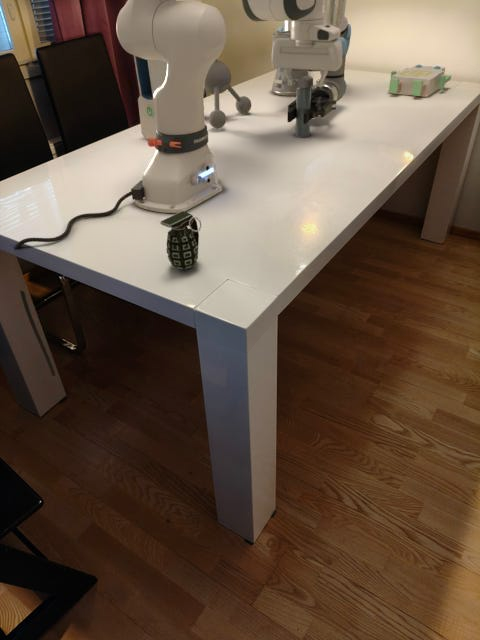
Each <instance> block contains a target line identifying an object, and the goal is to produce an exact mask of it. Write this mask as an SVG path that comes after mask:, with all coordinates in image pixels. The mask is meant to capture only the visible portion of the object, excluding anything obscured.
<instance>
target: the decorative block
mask: <svg viewBox="0 0 480 640" xmlns="http://www.w3.org/2000/svg"><path fill="white" fill-rule="evenodd" d="M445 72H446V67H445V66H440V65H435V66H433V65H422V64H415V65H414V66H412V67H406V68H404V69H402V70H399V71H396V70H392V71H391V72H390V80H389V86H388V87H389V89H388V94H395V95H404V96H413V97H424V98H428V97H430V96H432V95H433V94H434V93H435V92H436V91H438V90H444V88H445V84H447V83H448V82H450V81H451V80H452V75H451V74H445Z"/></svg>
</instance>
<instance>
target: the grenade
mask: <svg viewBox="0 0 480 640" xmlns="http://www.w3.org/2000/svg"><path fill="white" fill-rule="evenodd" d="M198 222H199V226H198ZM159 224H160V225H162V226H164V227H166V228H169V230H168V231H167V236H166V254H167V259H168V261H169V263H170V265H171V266H172V267H174V268H176V269H178V270H181V271H186V270H189V269H192V267H194V266H195V265H196V264H197V262H198V261H197V260H198V259H199V243H200V241H199V240H200V233H199V232H200V231H201V228H202V221H201V220H200V219H199V218H198V217H197V216H194V215H193V214H192V213H189V212H187V211H185V212H184V211H181V212H179V213H174V214H172V215H170V216H169V217H166V218H165V219H162V220H160V222H159ZM198 227H199V228H198Z"/></svg>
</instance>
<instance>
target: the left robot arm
mask: <svg viewBox="0 0 480 640" xmlns="http://www.w3.org/2000/svg"><path fill="white" fill-rule="evenodd" d="M323 3H324V0H241V4H242V7H243V11H244V13H245V14H246V16H247V17H248V18H249V20H251V21H253V22H268V21H270V22H271V21H273V22H284V21H291V31H281V30H279V31H277V30H276V32H274V33H273V34H272V36H271V46H272V49H271V61H270V62H271V66H272V67H273V68H274V69H277V68H284V73H285V75H286V77H287V79H288V85H289V86H293V85H294V84H295V82H294V81H295V78H292V76H291V73H290V71H291V69H306V70H320V71H319V72H320V73H319V74H320V75H322V76H320V78H319V79H317V80H315V88H317V87H319V88H321V87H323V80H324V78H325V77H326V75H327V73H328V71H336V70H338V69H339V68H340V67H341V66H342V43H341V41H340V40H339V39H338V37H339V36H340V34H341V30H340V29H339V28H337V27H335V26H332V25H330V24H327V23H325V22H324V13H323ZM115 26H116V27H115V28H116V35H117V38H118V41H119V44H120V45H121V47H122V49H123V50H124V51H125V52H126V53H128V54H130V55H132V56H133V57H134V56H137V57H140V58H143V59H146V60H156V61H166V63H167V74H166V79H165V81H164V82H163V83H162V84H160V85H159V86H158V87H157V89H156V90H155V92H154V95H153V101H154V108H155V114H156V121H157V128H158V129H157V130H156V138H152V137H150V138H149V139H147V146H149V147H151V148H152V147H154V148H155V151H154V153H153V155H152V157H151V159H150V162H149V163H148V165H147V167H146V169H145V172H144V173H143V176H142V179H141V180H140V181H138V182H137V183H136V184H135V185H133V187H132V188H131V189H130V191H129V192H127V193H125V194H124V195H122V196H121V197H119V198H118V200H117V201H116V203H115V205H114V206H113V208H112V209H110V210H106V211H104V212H103V211H102V212H93V213H92V212H90V213H82V214H78V215H76V216H74V217H73V218H71V219H70V220H69V221H68V223H67V226H66V229H65V230H64V232H62V233H61V234H60V235H58V236H54V237H26V238H23V239H21V240H20V241H18V242H17V243H16V245H15V246H14V248H13V250H15V251H16V250H19V249H21V247H22V246H23V245H25V244H28V243H34V242H38V243H54V242H58V241H61V240H62V239H65V238H66V237H67V236H68V235H69V234H70V231H71V229H72V226H73V224H74V223H75V222H76V221H78V220H81V219H85V218H101V217H107V216H110V215H112V214H114V213H115V212H116V211H117V210H118V209H119V207H120V206H121V204H122V203H123V202H124V200H126V199H127V198H129V197H131V198H132V200H134V205H135V206H137V207H138V208H140V209H142V210H143V209H144V210H147V211H151V212H157V213H164V214H177V213H179V212H181V211H184V212H187V211H189V210H190V209H193V208H194V207H196V206H198V205H199V204H201V203H203V202H205V201H207V200H208V199H210V198H212V197H214V196H215V195H217V194H219V193H220V192H222V191H223V185H222V184H220V183H219V180H218V174H217V168H216V163H215V156H214V155H213V153H212V152H211V149H210V147H209V145H208V143H209V130H208V126H207V124H206V121H205V103H204V98H203V91H204V83H205V79H206V76H207V73H208V70H209V68H210V67H211V65H212V64H213V62H214V61H215V60H216V59H217V60H218V58H219V57H220V56H221V54H222V53H223V51H224V49H225V46H226V43H227V25H226V22H225V19H224V17H223V14H222V13H221V11H220V10H219V9H218V7H215V6H213V5H210V4H207V3H204V2H200V1H197V0H126V2H125V4H124V6H123V7H122V8H121V9H120V10H119V13H118V15H117V18H116V25H115ZM19 293H20V296H21V297H20V298H21V300H22V303H23V308H24V310H25V313H26V316H27V318H28V321H29V323H30V326H31V328H32V331H33V332H34V336H35V337H36V340H37V342H38V344H39V347H40V349H41V351H42V354H43V357H44V358H45V361H46V363H47V366H48V367H49V372H50V374H51V377H55V376H56V372H55V369H54V367H53V364H52V362H51V359H50V357H49V354H48V351H47V348H46V347H45V344H44V342H43V339H42V337H41V335H40V333H39V330H38V328H37V326H36V324H35V321H34V318H33V316H32V313H31V310H30V307H29V304H28V300H27V296H26V293H25V291H24V290H19Z"/></svg>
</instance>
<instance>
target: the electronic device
mask: <svg viewBox="0 0 480 640" xmlns="http://www.w3.org/2000/svg"><path fill="white" fill-rule="evenodd" d="M133 60H134V61H133V62H134V65H135V72H136V79H137V86H138V90H139V97H138V98H137V103H138V113H139V123H140V129H141V130H140V131H141V135H142V136H143V138H144V139H146V140H148V139H149V138H150V137H152V138H156V130H157V129H158V128H157V121H156V114H155V108H154V101H153V95H154V92H155V90H156V89H157V87H158V86H159V85H160V84H162V83H163V82H164V81H165V79H166V74H167V63H166V61H156V60H146V59H143V58H140V57H137V56H134V55H133Z"/></svg>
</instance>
